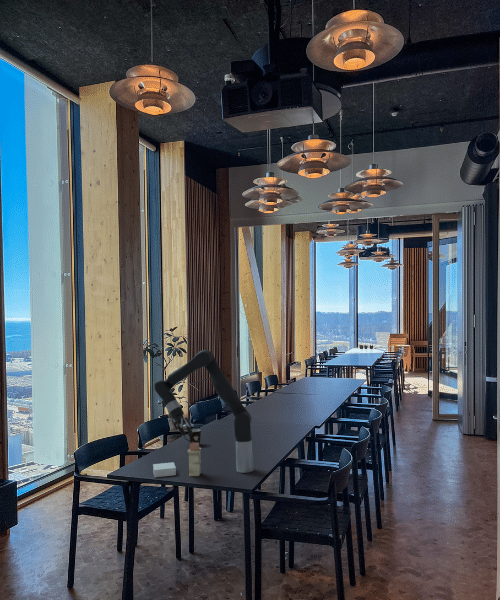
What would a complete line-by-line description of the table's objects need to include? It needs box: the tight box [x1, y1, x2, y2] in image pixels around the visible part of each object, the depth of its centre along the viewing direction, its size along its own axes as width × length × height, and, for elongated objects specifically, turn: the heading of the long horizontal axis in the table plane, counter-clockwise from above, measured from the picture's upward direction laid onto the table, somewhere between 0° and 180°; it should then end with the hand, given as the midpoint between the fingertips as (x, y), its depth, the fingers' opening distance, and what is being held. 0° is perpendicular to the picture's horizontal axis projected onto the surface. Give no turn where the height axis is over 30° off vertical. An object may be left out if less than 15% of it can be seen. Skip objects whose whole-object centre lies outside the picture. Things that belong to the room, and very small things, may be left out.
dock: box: [152, 461, 177, 478], centre depth 282 cm, size 12×12×4 cm
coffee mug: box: [183, 428, 202, 446], centre depth 347 cm, size 12×9×10 cm
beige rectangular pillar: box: [187, 447, 202, 477], centre depth 278 cm, size 6×6×14 cm
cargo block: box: [189, 443, 200, 450], centre depth 279 cm, size 4×4×3 cm
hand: (187, 434), depth 281 cm, fingers open, 8 cm apart
